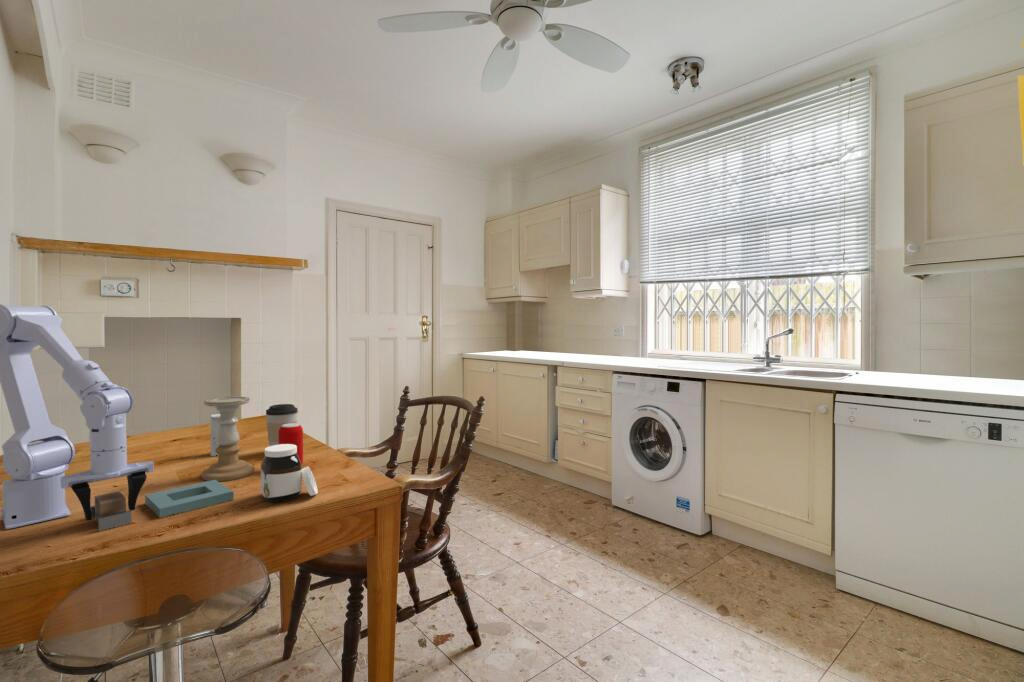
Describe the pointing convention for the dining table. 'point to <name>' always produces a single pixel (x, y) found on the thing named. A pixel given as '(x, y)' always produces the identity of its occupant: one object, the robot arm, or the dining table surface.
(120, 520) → the metal stand
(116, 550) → the dining table surface
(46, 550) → the dining table surface
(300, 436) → the beverage can
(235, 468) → the candle holder
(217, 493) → the socket board
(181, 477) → the dining table surface
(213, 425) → the skincare box
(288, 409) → the coffee cup
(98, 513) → the walnut block
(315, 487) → the spread jar
